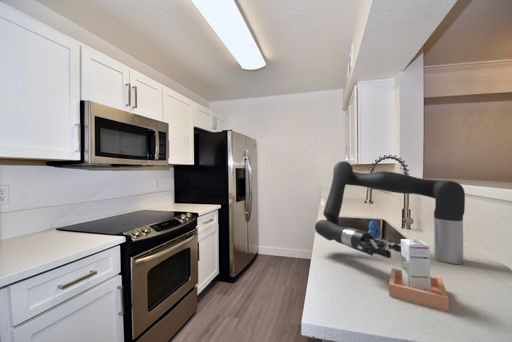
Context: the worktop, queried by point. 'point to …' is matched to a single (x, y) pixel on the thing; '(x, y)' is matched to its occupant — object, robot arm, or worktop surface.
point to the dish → (419, 292)
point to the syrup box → (415, 264)
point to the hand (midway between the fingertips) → (398, 252)
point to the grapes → (374, 229)
